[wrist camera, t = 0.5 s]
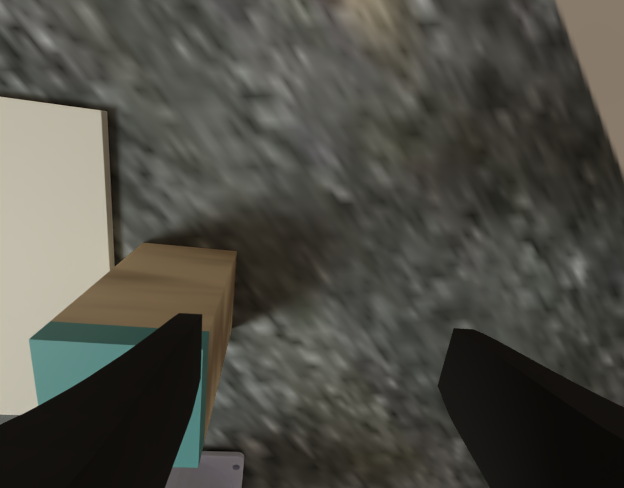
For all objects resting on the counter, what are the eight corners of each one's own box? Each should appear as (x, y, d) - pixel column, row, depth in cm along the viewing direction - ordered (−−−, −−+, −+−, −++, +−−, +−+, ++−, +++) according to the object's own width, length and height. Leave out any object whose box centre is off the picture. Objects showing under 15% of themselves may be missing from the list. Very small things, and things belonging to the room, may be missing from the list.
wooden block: (231, 328, 21) (198, 467, 12) (144, 322, 20) (47, 465, 12) (236, 251, 19) (203, 349, 11) (143, 242, 19) (28, 339, 10)
